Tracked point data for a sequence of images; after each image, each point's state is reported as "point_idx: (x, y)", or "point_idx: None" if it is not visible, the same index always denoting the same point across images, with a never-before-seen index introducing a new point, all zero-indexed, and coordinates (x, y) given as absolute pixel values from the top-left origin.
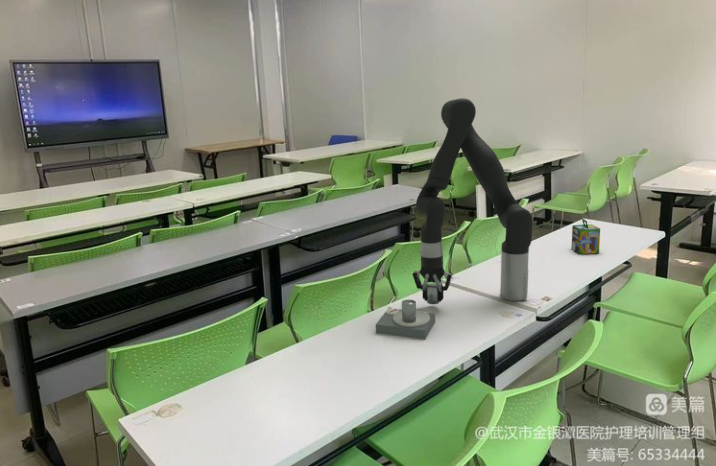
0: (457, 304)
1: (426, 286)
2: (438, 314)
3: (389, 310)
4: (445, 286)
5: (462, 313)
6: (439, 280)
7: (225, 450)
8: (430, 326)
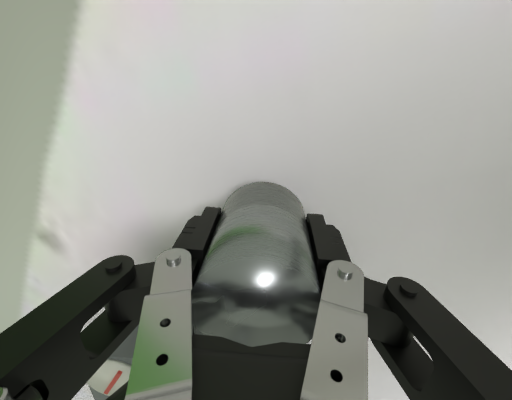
0: (415, 127)
1: (198, 327)
2: None
3: (95, 377)
4: (397, 365)
5: (428, 245)
6: (339, 345)
7: None
8: None
